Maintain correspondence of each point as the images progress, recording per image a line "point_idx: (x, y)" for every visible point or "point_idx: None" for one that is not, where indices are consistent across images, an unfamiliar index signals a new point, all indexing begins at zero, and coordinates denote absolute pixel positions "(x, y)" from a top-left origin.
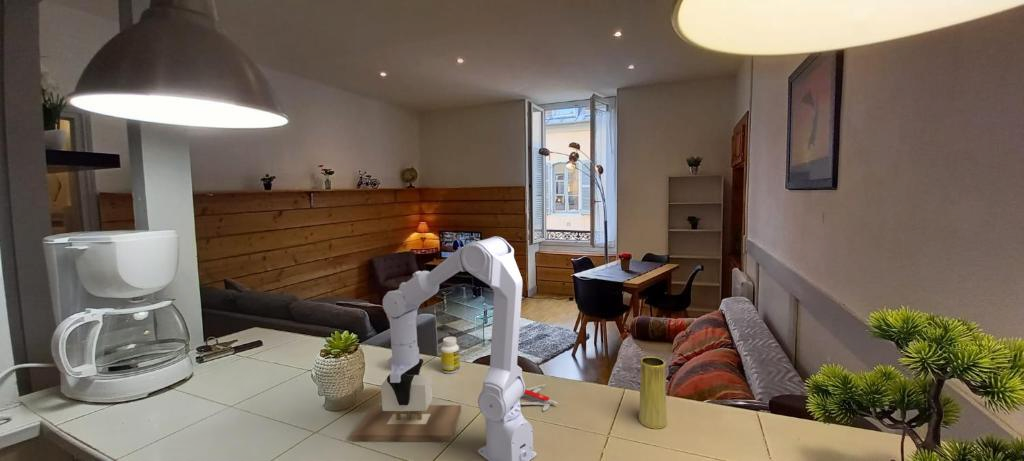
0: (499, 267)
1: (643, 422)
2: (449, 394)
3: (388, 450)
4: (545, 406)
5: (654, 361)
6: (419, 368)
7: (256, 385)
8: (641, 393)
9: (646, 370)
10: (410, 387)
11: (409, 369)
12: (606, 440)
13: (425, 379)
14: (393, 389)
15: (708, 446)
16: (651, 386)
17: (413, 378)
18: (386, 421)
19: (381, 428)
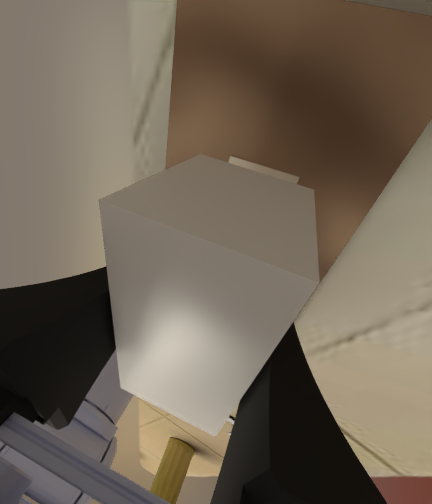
0: None
1: (174, 442)
2: (389, 350)
3: (140, 164)
4: (233, 422)
5: None
6: (222, 468)
7: None
8: (165, 484)
9: None
10: (115, 344)
11: (241, 439)
12: (156, 410)
13: (172, 408)
14: (74, 278)
15: (145, 437)
16: None
17: (189, 385)
18: (251, 152)
19: (205, 136)
